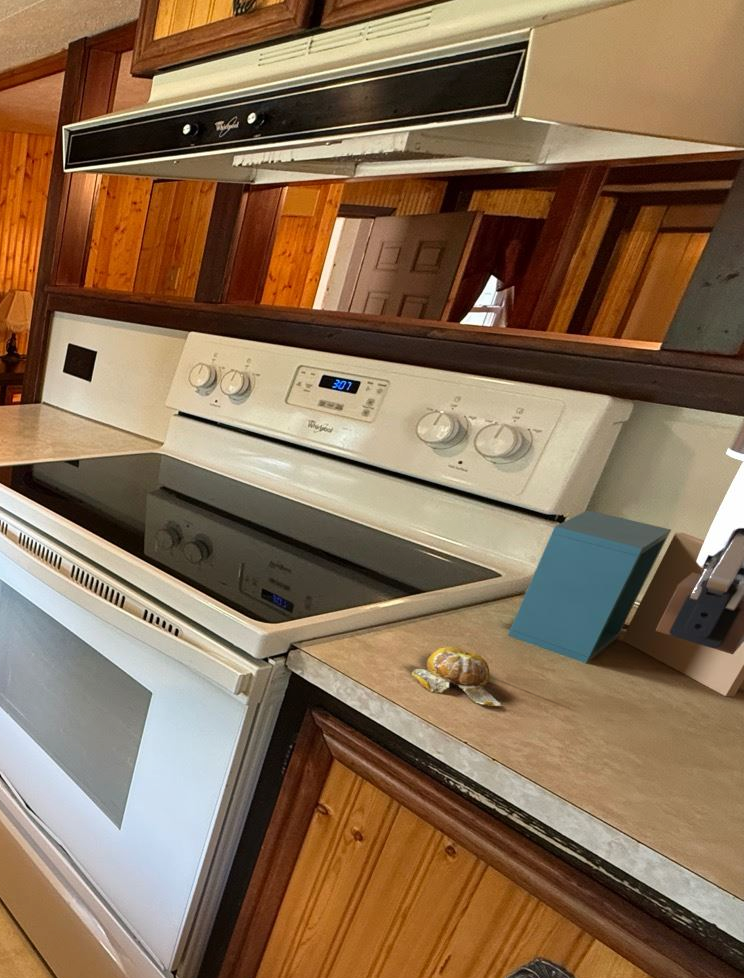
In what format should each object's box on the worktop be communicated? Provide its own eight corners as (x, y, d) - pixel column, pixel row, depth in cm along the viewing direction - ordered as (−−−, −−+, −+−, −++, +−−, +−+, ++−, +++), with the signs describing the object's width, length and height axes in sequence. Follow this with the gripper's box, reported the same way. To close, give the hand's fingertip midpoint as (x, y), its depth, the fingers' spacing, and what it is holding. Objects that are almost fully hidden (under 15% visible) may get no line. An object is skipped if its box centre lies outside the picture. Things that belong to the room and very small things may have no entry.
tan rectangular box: (679, 643, 97) (737, 535, 91) (792, 700, 85) (867, 580, 79) (621, 640, 97) (675, 532, 92) (725, 696, 85) (795, 576, 80)
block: (745, 640, 68) (771, 592, 66) (732, 654, 65) (760, 605, 64) (669, 617, 72) (692, 572, 70) (655, 630, 69) (678, 583, 67)
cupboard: (616, 638, 98) (671, 529, 92) (585, 664, 91) (642, 548, 85) (541, 613, 104) (587, 510, 98) (507, 636, 98) (554, 526, 92)
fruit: (411, 685, 85) (421, 658, 84) (411, 656, 92) (421, 631, 90) (501, 712, 81) (514, 685, 80) (495, 680, 87) (507, 654, 86)
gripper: (857, 473, 54) (740, 678, 61) (885, 444, 63) (779, 627, 70) (710, 449, 60) (619, 639, 67) (754, 426, 69) (669, 596, 76)
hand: (701, 631), depth 68 cm, fingers closed on block, 5 cm apart
